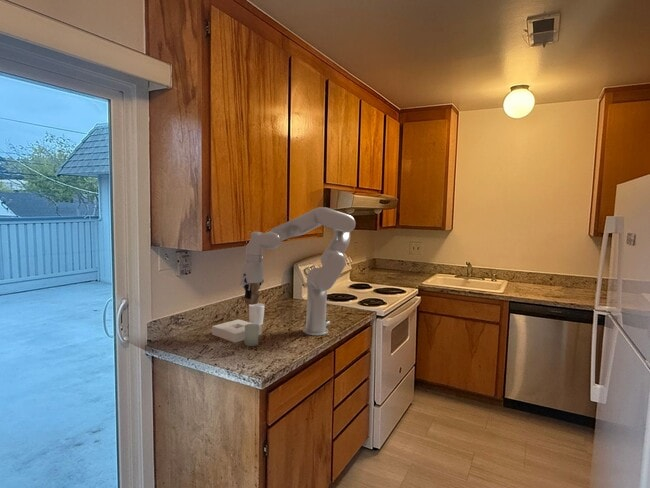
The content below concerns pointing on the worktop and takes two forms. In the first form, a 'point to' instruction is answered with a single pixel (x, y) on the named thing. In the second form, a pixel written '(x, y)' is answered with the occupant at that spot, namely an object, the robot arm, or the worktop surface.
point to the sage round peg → (251, 334)
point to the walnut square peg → (253, 294)
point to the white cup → (256, 313)
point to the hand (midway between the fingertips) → (251, 297)
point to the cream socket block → (232, 330)
